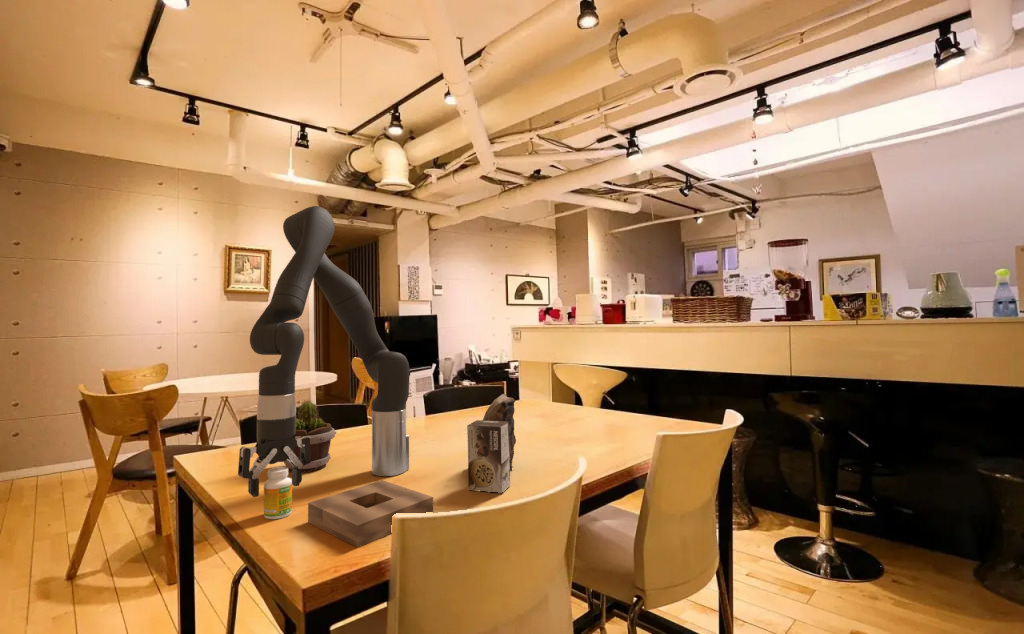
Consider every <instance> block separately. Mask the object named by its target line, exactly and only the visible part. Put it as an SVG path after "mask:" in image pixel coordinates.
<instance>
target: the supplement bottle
mask: <svg viewBox="0 0 1024 634" xmlns="http://www.w3.org/2000/svg"><path fill="white" fill-rule="evenodd" d="M267 478H268V479H267V480H266V481H264V483H263V516H264V517H263V518H265V519H267V520H278V519H284V518H286V517H288V516H290V515H291V514H292V511H293V485H292V477H290V476H289V469H288V468H287V467H286V466H277V467H272V468H269V469H268V470H267Z"/></svg>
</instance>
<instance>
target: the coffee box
mask: <svg viewBox="0 0 1024 634" xmlns="http://www.w3.org/2000/svg"><path fill="white" fill-rule="evenodd" d="M466 429H467V433H466V435H467V469H468V470H467V474H468V476H467V477H468V478H467V481H468V485H467V486H468V487H467V488H468V489H470V490H480V491H489V492H488V493H490V492H498V493H497V494H500V493H502V492H504V491H505V490H506V489H507V488H508V487H509V486H510V487H511V472H510V450H509V422H505V421H484V420H483V419H482V420H479V419H477V420H474V421H473V422H471V423H469V424H467V427H466ZM510 487H509V488H510ZM509 488H508V489H509ZM508 489H507V490H508ZM507 490H506V491H507ZM480 491H479V492H480ZM506 491H505V492H506ZM505 492H504V493H505ZM502 494H503V493H502Z"/></svg>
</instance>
